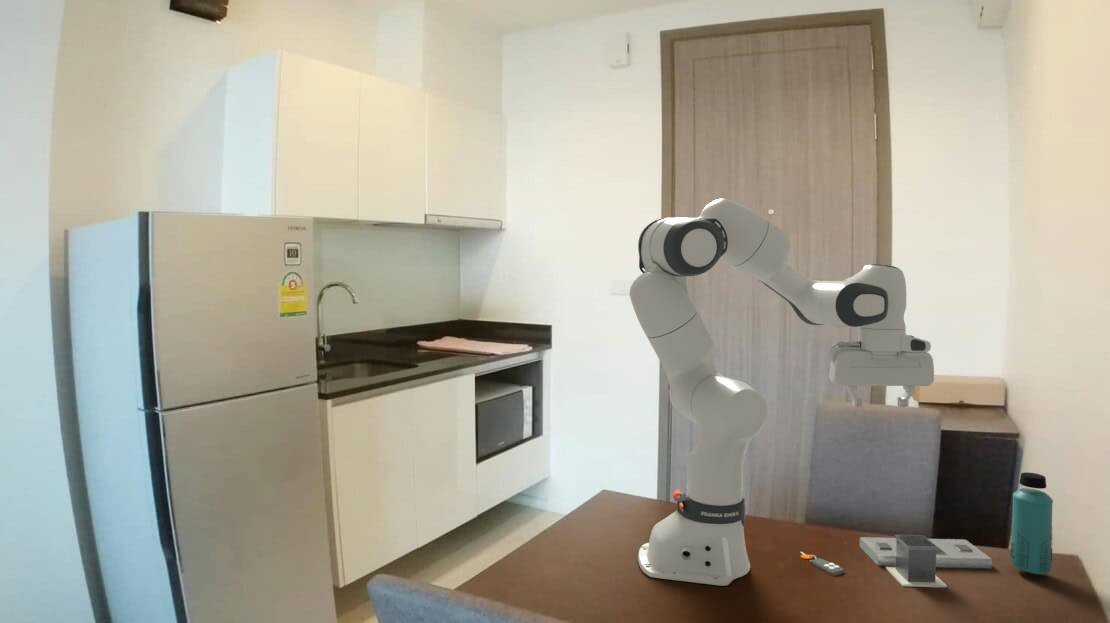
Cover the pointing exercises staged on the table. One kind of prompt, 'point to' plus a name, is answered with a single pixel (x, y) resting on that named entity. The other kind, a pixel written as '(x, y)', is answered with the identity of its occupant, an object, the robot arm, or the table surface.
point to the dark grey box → (916, 558)
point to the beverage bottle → (1032, 526)
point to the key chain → (824, 565)
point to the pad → (914, 584)
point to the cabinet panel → (947, 554)
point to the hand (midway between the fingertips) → (879, 406)
